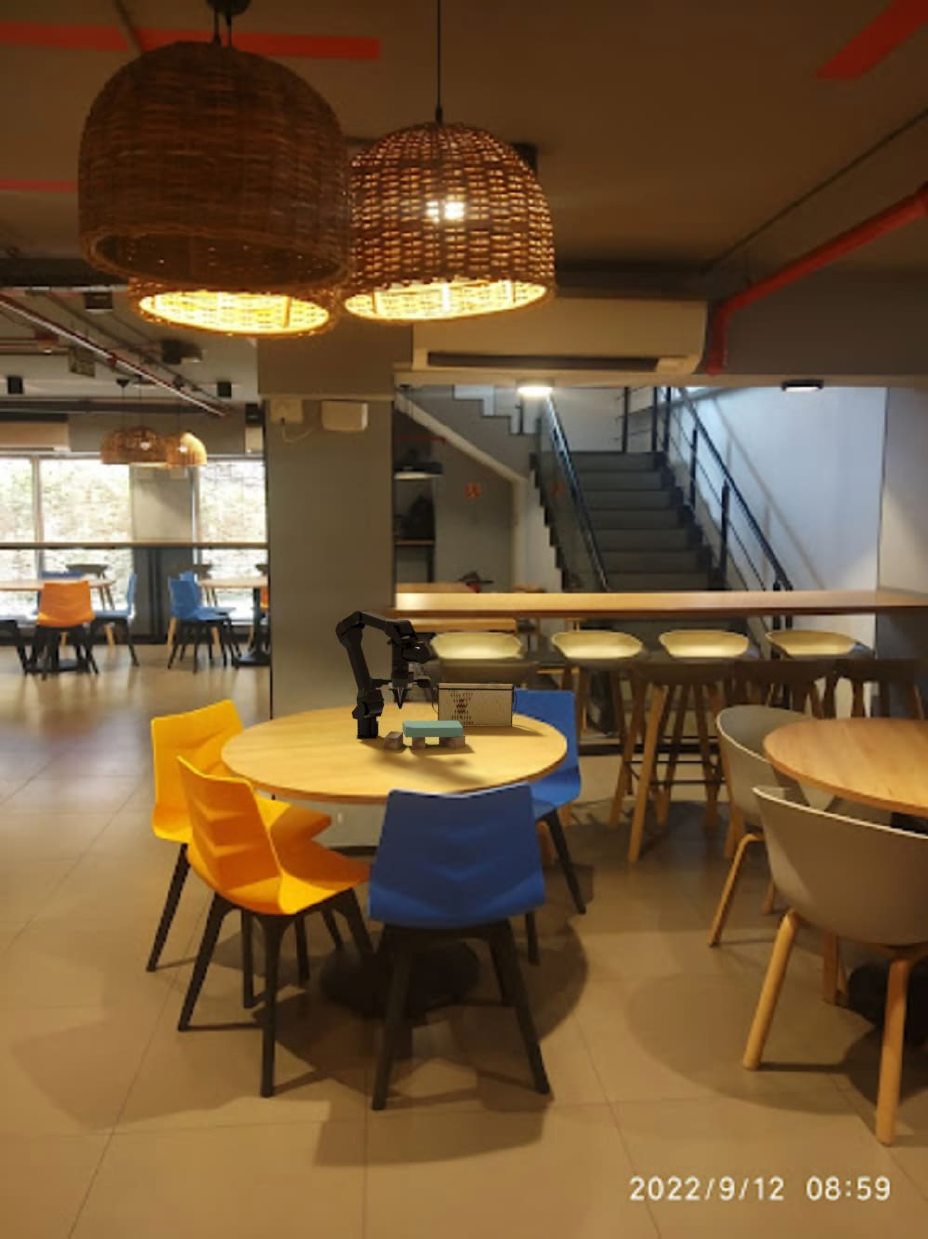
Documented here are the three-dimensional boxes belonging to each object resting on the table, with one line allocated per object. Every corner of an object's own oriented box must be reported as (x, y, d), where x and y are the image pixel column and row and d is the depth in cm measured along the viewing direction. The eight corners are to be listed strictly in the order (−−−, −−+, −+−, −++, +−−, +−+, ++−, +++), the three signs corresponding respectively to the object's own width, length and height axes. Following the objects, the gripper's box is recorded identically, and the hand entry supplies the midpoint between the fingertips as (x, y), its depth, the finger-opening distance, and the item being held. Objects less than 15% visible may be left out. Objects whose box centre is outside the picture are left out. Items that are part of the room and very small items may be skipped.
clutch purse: (516, 722, 313) (517, 680, 311) (517, 727, 306) (518, 684, 304) (432, 721, 314) (432, 680, 312) (431, 726, 307) (430, 684, 305)
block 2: (412, 749, 278) (412, 737, 278) (411, 742, 286) (411, 730, 286) (425, 749, 278) (425, 736, 278) (424, 742, 286) (424, 730, 286)
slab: (405, 737, 276) (406, 727, 276) (402, 730, 285) (402, 720, 285) (462, 736, 280) (463, 727, 279) (457, 729, 289) (458, 720, 288)
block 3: (438, 745, 284) (438, 733, 284) (448, 742, 287) (448, 731, 286) (455, 750, 278) (455, 738, 278) (465, 747, 281) (465, 736, 281)
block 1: (384, 750, 278) (384, 737, 277) (391, 743, 286) (391, 731, 285) (396, 750, 277) (396, 738, 276) (403, 744, 285) (403, 731, 284)
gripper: (369, 664, 271) (369, 714, 273) (430, 665, 272) (430, 714, 274) (370, 658, 282) (370, 706, 284) (429, 658, 283) (429, 706, 285)
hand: (400, 708), depth 281 cm, fingers closed
